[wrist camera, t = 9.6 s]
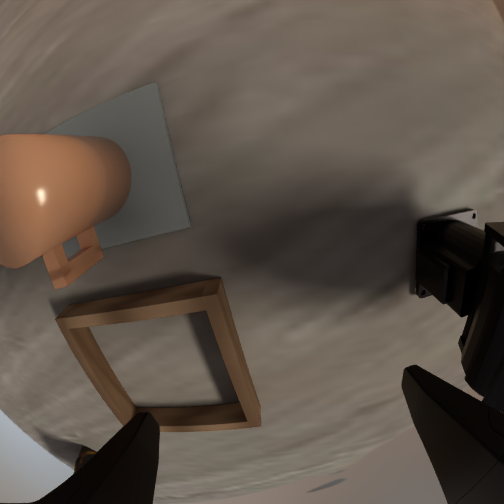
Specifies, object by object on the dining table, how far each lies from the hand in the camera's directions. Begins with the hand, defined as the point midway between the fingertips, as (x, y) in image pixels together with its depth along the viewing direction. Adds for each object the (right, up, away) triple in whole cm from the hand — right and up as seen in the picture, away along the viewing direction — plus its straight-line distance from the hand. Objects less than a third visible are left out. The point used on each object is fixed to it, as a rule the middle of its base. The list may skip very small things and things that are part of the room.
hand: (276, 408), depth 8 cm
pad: (-12, +10, +9) cm, 18 cm away
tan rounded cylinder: (-12, +10, +9) cm, 18 cm away
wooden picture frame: (-8, -5, +14) cm, 17 cm away
